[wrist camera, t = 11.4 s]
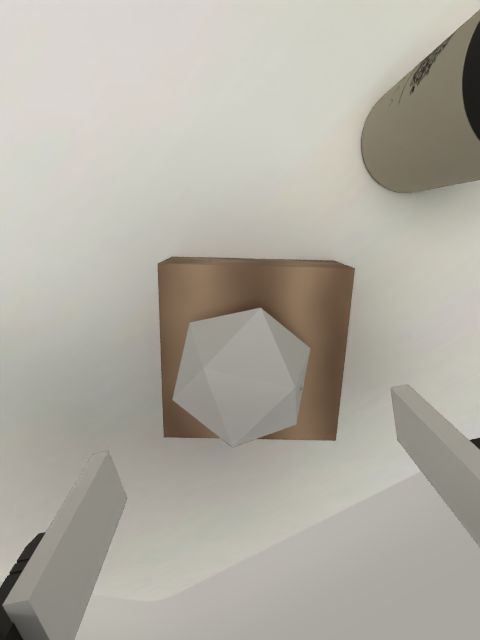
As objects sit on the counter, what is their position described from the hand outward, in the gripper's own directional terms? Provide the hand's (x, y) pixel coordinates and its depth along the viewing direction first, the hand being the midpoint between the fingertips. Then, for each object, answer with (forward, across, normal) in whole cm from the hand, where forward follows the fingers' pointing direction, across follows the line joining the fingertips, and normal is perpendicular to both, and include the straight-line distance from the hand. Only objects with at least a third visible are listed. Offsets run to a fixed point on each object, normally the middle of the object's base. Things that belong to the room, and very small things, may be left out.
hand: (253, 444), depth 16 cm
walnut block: (+17, +1, 0) cm, 17 cm away
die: (+11, 0, 0) cm, 11 cm away
